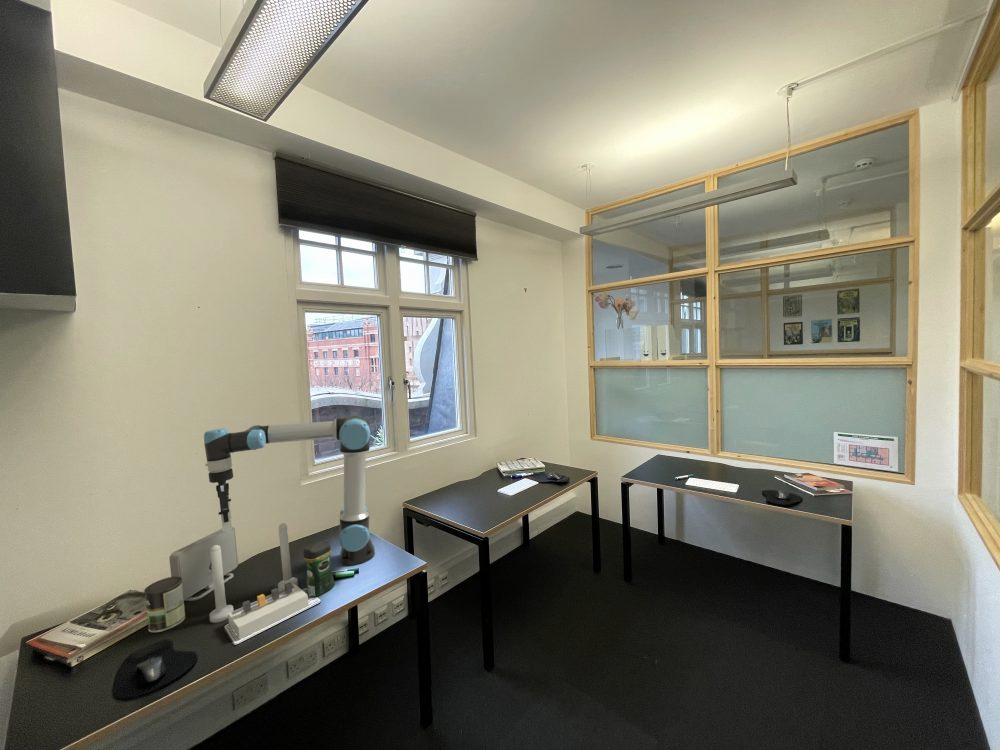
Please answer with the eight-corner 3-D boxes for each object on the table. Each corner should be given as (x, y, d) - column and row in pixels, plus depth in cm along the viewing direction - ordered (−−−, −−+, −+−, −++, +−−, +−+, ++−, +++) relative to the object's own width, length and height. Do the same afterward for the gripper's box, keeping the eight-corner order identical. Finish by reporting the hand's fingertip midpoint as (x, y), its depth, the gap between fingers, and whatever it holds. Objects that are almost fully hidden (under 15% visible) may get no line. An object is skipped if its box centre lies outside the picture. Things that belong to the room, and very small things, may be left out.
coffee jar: (325, 581, 163) (322, 536, 162) (337, 586, 158) (334, 540, 157) (303, 594, 154) (298, 547, 154) (315, 599, 150) (310, 551, 149)
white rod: (299, 580, 165) (293, 518, 164) (296, 589, 158) (291, 524, 157) (279, 585, 162) (274, 522, 161) (276, 594, 156) (270, 528, 155)
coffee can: (146, 637, 135) (142, 596, 134) (149, 622, 143) (145, 584, 142) (185, 623, 141) (181, 584, 140) (186, 610, 149) (182, 573, 148)
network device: (187, 606, 151) (181, 555, 150) (168, 605, 153) (163, 554, 152) (243, 570, 176) (238, 526, 175) (226, 569, 178) (222, 525, 177)
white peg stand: (236, 608, 148) (229, 539, 147) (230, 619, 142) (223, 547, 140) (213, 613, 146) (206, 543, 145) (207, 625, 139) (199, 551, 138)
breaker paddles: (292, 590, 149) (292, 581, 149) (295, 592, 148) (294, 582, 148) (240, 613, 137) (239, 603, 137) (242, 616, 135) (241, 606, 135)
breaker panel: (295, 594, 155) (294, 583, 155) (308, 605, 147) (307, 594, 146) (229, 624, 138) (227, 612, 138) (239, 639, 130) (238, 626, 130)
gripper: (209, 466, 160) (216, 518, 161) (207, 479, 140) (214, 538, 141) (231, 462, 164) (238, 512, 166) (232, 473, 144) (240, 531, 145)
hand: (227, 524), depth 153 cm, fingers open, 13 cm apart
